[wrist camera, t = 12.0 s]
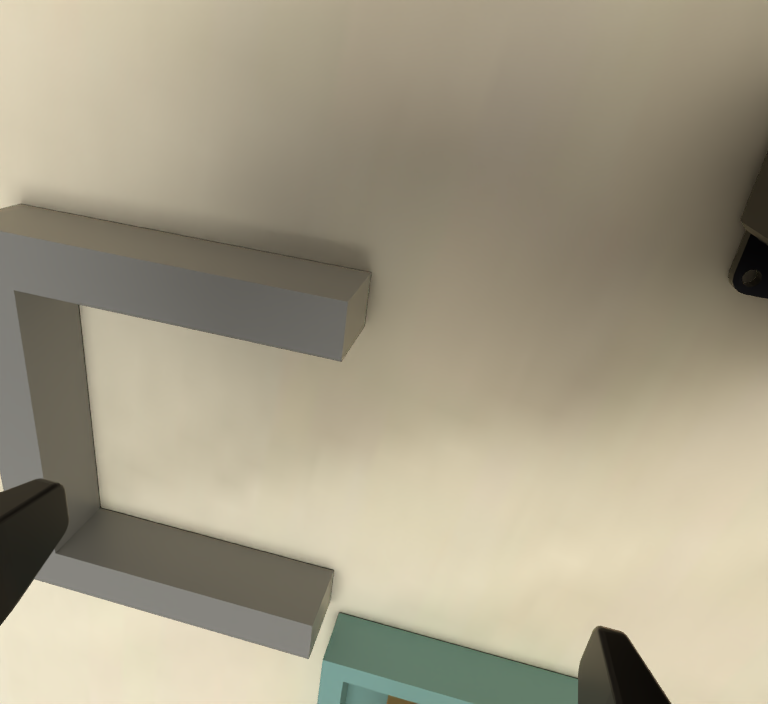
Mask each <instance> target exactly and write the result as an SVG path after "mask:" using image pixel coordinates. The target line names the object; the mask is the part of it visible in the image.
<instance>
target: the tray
mask: <svg viewBox="0 0 768 704" xmlns="http://www.w3.org/2000/svg"><path fill="white" fill-rule="evenodd" d="M388 695H390V696H394V697H397V698H401V699H404V700H407V701H411V702H414V703H418V704H578V679H576V678H572V677H569V676H565V675H562V674H558V673H554V672H551V671H547V670H544V669H540V668H536V667H533V666H529V665H526V664H522V663H518V662H515V661H511V660H508V659H504V658H500V657H497V656H493V655H490V654H486V653H482V652H479V651H475V650H472V649H468V648H465V647H461V646H457V645H454V644H450V643H447V642H443V641H439V640H436V639H432V638H429V637H425V636H421V635H418V634H414V633H411V632H407V631H403V630H400V629H396V628H393V627H389V626H385V625H382V624H378V623H375V622H371V621H367V620H364V619H360V618H357V617H353V616H349V615H346V614H342V613H339V615H338V618H337V621H336V623H335V626H334V629H333V632H332V635H331V638H330V641H329V644H328V646H327V649H326V652H325V655H324V658H323V663H322V671H321V679H320V687H319V695H318V702H317V704H387V699H388Z"/></svg>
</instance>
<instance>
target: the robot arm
mask: <svg viewBox="0 0 768 704" xmlns="http://www.w3.org/2000/svg"><path fill="white" fill-rule="evenodd" d="M741 222H742V224H743V226H744V228H745V229H746V231H745V234H744V236H743V239H742V241H741V244H740V246H739V249H738V251H737V254H736V256H735V258H734V261H733V263H732V266H731V268H730V271H729V276H728V278H729V282H730V284H731V285H732V286H733V287H734V288H735V289H736V290H737V291H738V292H740V293H743V294H746V295H751V296H756V297H762V298H767V299H768V152H767V154H766V157H765V159H764V162H763V164H762V167H761V169H760V172H759V174H758V177H757V179H756V182H755V184H754V187H753V189H752V192H751V194H750V197H749V199H748V202H747V204H746V207H745V209H744V212H743V214H742V217H741ZM749 270H756V271H757V275H756V277H755V278H754V280H752V281H750V282H742V276H743V275H744V274H745V272H747V271H749ZM68 525H69V513H68V506H67V498H66V491H65V488H64V486H63V485H62V484H61V483H58V482H55V481H51V480H47V479H42V478H39V479H35V480H32V481H29V482H27V483H24V484H21V485H19V486H16V487H13V488H10V489H8V490H5V491H2V492H0V625H1V624H2V623H3V622H4V620H5V619H6V618H7V616H8V615H9V614H10V613H11V611H12V610H13V609H14V607H15V606H16V604H17V603H18V602H19V600H20V599H21V597H22V596H23V594H24V593H25V592H26V590H27V589H28V587H29V586H30V584H31V583H32V581H33V580H34V578H35V577H36V575H37V574H38V572H39V571H40V570H41V568H42V567H43V565H44V564H45V562H46V561H47V559H48V558H49V556H50V555H51V553H52V552H53V550H54V549H55V548H56V546H57V545H58V543H59V542H60V540H61V539H62V537H63V536H64V534H65V532H66V530H67V528H68ZM578 704H671V702H670V701H669V699H668V698H667V696H666V695H665V693H664V691H663V690H662V688H661V687H660V685H659V684H658V682H657V681H656V679H655V678H654V676H653V675H652V673H651V672H650V670H649V669H648V667H647V665H646V664H645V662H644V661H643V659H642V658H641V656H640V655H639V653H638V652H637V650H636V649H635V647H634V646H633V644H632V643H631V641H630V640H629V638H628V637H627V635H626V634H624V633H623V632H621V631H618V630H615V629H611V628H607V627H603V626H597V627H596V628H595V629H594V630H593V632H592V634H591V637H590V639H589V641H588V644H587V646H586V649H585V651H584V653H583V656H582V658H581V661H580V665H579V672H578Z"/></svg>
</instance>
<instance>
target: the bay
mask: <svg viewBox="0 0 768 704" xmlns="http://www.w3.org/2000/svg"><path fill="white" fill-rule="evenodd" d="M370 279H371V272H366V271H361V270H356V269H350V268H345V267H340V266H335V265H330V264H325V263H320V262H315V261H309V260H304V259H299V258H294V257H289V256H284V255H279V254H274V253H269V252H263V251H258V250H253V249H248V248H243V247H238V246H233V245H228V244H222V243H217V242H212V241H207V240H202V239H197V238H192V237H187V236H182V235H176V234H171V233H166V232H161V231H156V230H151V229H146V228H141V227H135V226H130V225H125V224H120V223H115V222H110V221H105V220H100V219H95V218H89V217H84V216H79V215H74V214H69V213H64V212H59V211H54V210H48V209H43V208H38V207H33V206H28V205H23V204H18V205H14V206H10V207H6V208H2V209H0V474H1V479H2V484H3V489H4V491H5V490H8V489H10V488H13V487H16V486H19V485H21V484H24V483H27V482H29V481H32V480H35V479H39V478H42V479H47V480H51V481H55V482H58V483H61V484H62V485H63V486H64V488H65V491H66V498H67V506H68V513H69V525H68V528H67V530H66V532H65V534H64V536H63V537H62V539H61V540H60V542H59V543H58V545H57V546H56V548H55V549H54V550H53V552H52V553H51V555H50V556H49V558H48V559H47V561H46V562H45V564H44V565H43V567H42V568H41V570H40V571H39V572H38V574H37V575H36V577H35V578H34V579H35V580H39V581H42V582H46V583H49V584H53V585H56V586H60V587H63V588H66V589H70V590H73V591H77V592H80V593H84V594H87V595H90V596H94V597H97V598H101V599H104V600H108V601H111V602H114V603H118V604H121V605H125V606H128V607H132V608H135V609H138V610H142V611H145V612H149V613H152V614H156V615H159V616H163V617H166V618H169V619H173V620H176V621H180V622H183V623H187V624H190V625H193V626H197V627H200V628H204V629H207V630H211V631H214V632H217V633H221V634H224V635H228V636H231V637H235V638H238V639H242V640H245V641H248V642H252V643H255V644H259V645H262V646H266V647H269V648H272V649H276V650H279V651H283V652H286V653H290V654H293V655H296V656H300V657H303V658H307V659H309V657H310V654H311V652H312V649H313V646H314V644H315V641H316V638H317V635H318V633H319V630H320V627H321V625H322V622H323V619H324V617H325V614H326V611H327V609H328V606H329V603H330V597H331V589H332V581H333V573H334V571H333V570H329V569H326V568H322V567H318V566H314V565H311V564H307V563H303V562H300V561H296V560H292V559H288V558H285V557H281V556H277V555H273V554H270V553H266V552H262V551H259V550H255V549H251V548H247V547H244V546H240V545H236V544H232V543H229V542H225V541H221V540H218V539H214V538H210V537H206V536H203V535H199V534H195V533H191V532H188V531H184V530H180V529H177V528H173V527H169V526H165V525H162V524H158V523H154V522H150V521H147V520H143V519H139V518H136V517H132V516H128V515H124V514H121V513H117V512H113V511H110V510H106V509H102V508H100V500H99V491H98V482H97V473H96V463H95V454H94V445H93V435H92V426H91V417H90V408H89V398H88V389H87V380H86V370H85V361H84V352H83V343H82V333H81V324H80V315H79V305H84V306H89V307H93V308H98V309H102V310H107V311H112V312H116V313H121V314H125V315H130V316H134V317H139V318H144V319H148V320H153V321H157V322H162V323H167V324H171V325H176V326H180V327H185V328H190V329H194V330H199V331H203V332H208V333H212V334H217V335H222V336H226V337H231V338H235V339H240V340H245V341H249V342H254V343H258V344H263V345H267V346H272V347H277V348H281V349H286V350H290V351H295V352H300V353H304V354H309V355H313V356H318V357H323V358H327V359H332V360H336V361H341V362H342V360H343V358H344V357H345V355H346V354H347V352H348V351H349V349H350V348H351V346H352V345H353V343H354V341H355V340H356V338H357V337H358V335H359V334H360V332H361V331H362V329H363V328H364V326H365V319H366V311H367V303H368V295H369V287H370ZM78 304H79V305H78Z"/></svg>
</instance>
